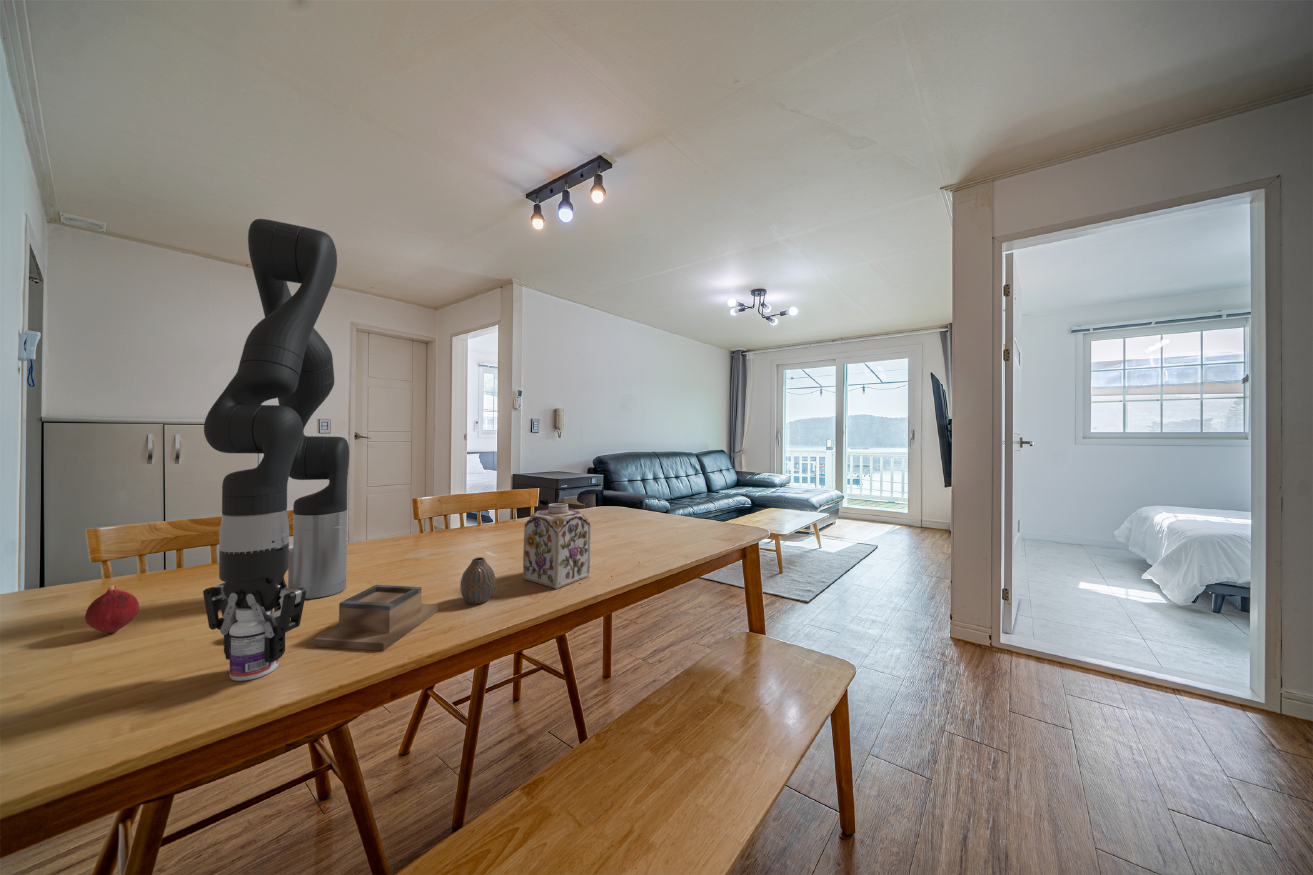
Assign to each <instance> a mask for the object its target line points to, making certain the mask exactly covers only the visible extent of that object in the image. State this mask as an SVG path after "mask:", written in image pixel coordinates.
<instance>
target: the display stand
mask: <svg viewBox="0 0 1313 875" xmlns="http://www.w3.org/2000/svg"><path fill="white" fill-rule="evenodd" d="M338 605H339V606H338V618H339V619H338V625H336V626H334V627H332V628H331V629H328V630H326V631H325V632H323V633H322V634H320V635H318V636H316V637H315V638H313V647H324V648H335V649H336V648H339V649H349V650H351V649H352V650H366V651H367V650H369V651H380V652H382V651H386V650H387V649H389V647H391V646H392V645H393V644H395V643H396V642H398V641H399V640H400V639H403V637H405V636H406V635H408V634H409V633H410V632H411V631H413V630H414V629H416V628H417V627H419V626H420V625H421V624H423V623H424V622H425V621H427V620H429V619H430V618H431V617H433V616H434V615H435V614H437V613H438V612H439V611H440V604H434V603H422V586H408V585H407V586H406V585H391V584H389V585H387V584H374V585H373V586H371V587H369V588H367V589H366V588H365V589H364V590H363V591H360V592H359V593H356V594H355V595H353V596H351V597H348V598H346V599H345V600H342V601H341V602H339V603H338Z"/></svg>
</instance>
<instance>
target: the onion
mask: <svg viewBox="0 0 1313 875" xmlns="http://www.w3.org/2000/svg"><path fill="white" fill-rule="evenodd" d="M139 610H140V603H139V600H138V599H137V597H136V596H134V595H133V594H132V593H131V592H128V591H125V590H121V589H119V588H118V585H110V586H108V588H107V591H106V592H105V593H102V595H100V596H98V597H97V598H95V599H94V600H93V601H92V602H91V603H90V604H89V605H88V607H87V610H86V611H85V616H84V620H85V622H86V624H87V625H88V626H89V627H90V628H92V629H94V630H95V631H98V632H101V633H102V632H103V633H106V634H109V633H111V634H114V633H116V632H119V631H120V629H122V628H125V627H126V626H127V625H128V624H129V623H130V622H132V621H133V620H134V619H135V617H136V616H137V615H138V612H139Z"/></svg>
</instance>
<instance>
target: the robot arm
mask: <svg viewBox="0 0 1313 875" xmlns="http://www.w3.org/2000/svg"><path fill="white" fill-rule="evenodd" d="M247 242H248V243H247V245H248V254H249V258H250V264H251V266H252V272H253V275H254V279H255V282H256V286H257V289H258V294H259V295H258V296H259V298H260V302H261V306H262V310H263V315H264V318H263V319H261V320H260V321H259V322H258V323H257V324H256V325H255V326H254V327H253V328H252V329H251V331H249V332H250V333H249V334H248V335H247V338H246V340H245V342H244V345H243V350H242V353H241V357H240V360H239V363H238V368H237V371H236V372H235V375H234V376H233V378H232V379H231V380H230V381H229V383H228V384H227V386H226V387H225V388H224V390H223V392H222V393H221V394H220V395H219V397H218V398H217V399H216V401H215V402H214V403H213V404H212V406H211V407H210V409H209V411H208V412H207V415H206V417H205V419H204V424H203V434H204V437H205V440H206V442H207V443H208V445H209V446H210V447H211V448H212V449H214V450H215V451H218V452H220V453H224V454H261V455H263V456H262V458H261V461H260V462H259V464H258V465H257V466H256V467H253V468H249V469H243V470H237V471H234V472H230V473H228V474H227V475H225V476H224V478H223V481H222V486H221V488H222V489H221V500H222V501H221V514H222V515H221V521H220V526H219V532H218V533H219V540H218V541H219V544H218V546H219V547H218V548H219V556H218V558H219V559H218V567H219V568H218V569H219V570H218V577H219V578H218V579H219V580H220V581H222V582H223V583H220V584H216V585H213V586H211V587H208V588H205V589H204V590H203V591H202V595H203V599H204V606H205V611H206V618H207V624H208V628H209V629H210V630H212V631H213V630H216V629H217V630H219V631H220V634H221V635H223V653H224V656H225V657H224V658H225V660H228V661H230V647H229V630H230V628H231V626H232V625H233V624H234V623H236V622H237V621H238V620H236V609H238V608H243V609H252V610H253V613H254V615H255V618H256V621H257V623H258V624H262V626H263V629H264V631H265V634H266V636H267V637H266V638H265V662H267V663H272V662H274V661H276V660H277V659H279V660H280V659H281V658H282V657H283V656H284V655H285V652H286V634H287V633H288V632H289V631H292V630H294V629H297V628H298V627H299V626H300V625H301V621H302V615H303V609H304V606H305V600H306V599H307V600H309V599H318V598H323V597H329V596H332V595H336V594H338V593H341V592H342V591H344V590H345V589H346V588H347V569H348V567H347V564H348V562H347V558H348V556H347V555H348V554H347V553H348V550H347V549H348V548H347V547H348V478H349V477H348V476H349V465H350V446H349V443H348V440H347V439H346V437H342V436H327V435H326V436H325V435H324V436H323V435H321V436H319V435H318V436H315V435H314V436H313V435H311V436H309V435H305V433H304V430H305V427H306V426H307V424H308V422H309V420H310V419H311V417H312V416H313V414H314V413H315V412H316V411H317V410H318V409H319V407H320V406H321V405H322V404H323V403H324V401H326V399H327V398H328V397H329V395H330V394H331V392H332V390H333V388H334V386H335V371H334V369H335V368H334V358H333V353H332V351H331V349H330V346H329V345H328V344H327V342H326V341H325V339H324V338H323V337H322V336H321V334H320V333H319V332H318V330H316V329H315V328H314V327H315V325H316V323H317V321H318V319H319V316H320V314H321V313H322V310H323V308H324V305H325V303H326V301H327V298H328V295H329V294H330V290H331V288H332V285H333V283H334V281H335V277H336V275H337V274H336V273H337V268H338V254H337V247H336V244H335V242H334V240H333V238H332V237H331V235H329V234H328V233H327V232H325V231H323V230H319V229H316V228H315V229H314V228H311V227H307V226H301V225H298V224H297V225H296V224H291V223H287V222H281V221H277V220H272V219H268V218H267V219H265V218H256V219H254V220H253V221H251V223H250V225H249V228H248V234H247ZM288 283H294V284H295V283H296V284H300V285H299V287H298V289H297V290H296V292H294V294H293V295H292V293H291V291H290V289H289V286H288ZM273 399H274V400H275V399H277V401H278V405H276V404H275V405H274V404H263V403H265V402H268V401H270V400H273ZM289 478H291V479H292V480H295V481H296V480H297V481H298V480H299V481H313V480H315V481H318V480H328V485H327V486H325V487H324V488H322V489H320V490H318V491H317V492H314V493H312V494H311V493H310V494H308V495H305V496H301V497H299V498H297V499H295V500H294V502H293V508H292V509H293V510H292V512H293V514H292V517H293V519H292V521H293V522H292V523H293V525H292V529H293V530H292V532H293V533H292V534H293V536H292V538H293V539H292V541H293V542H292V547H291V548H290V523H289V522H290V521H289V516H288V483H289ZM287 571H288V572H287ZM286 573H287V574H288V575H287V578H288V580H287V583H286V580H285V575H286ZM272 609H273V612H272V613H271V614H269V615H268V614H266V612H268V611H270V610H272ZM219 611H220V612H221V616H222V617H219ZM273 618H274V619H275V621H276V624H277V626H274V624H273V621H272V620H273Z"/></svg>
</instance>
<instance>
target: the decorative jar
mask: <svg viewBox="0 0 1313 875" xmlns="http://www.w3.org/2000/svg"><path fill="white" fill-rule="evenodd" d="M547 508H548V509H542V510H538V511H535V512H534V514H532V515H531V516H530V517H529V518H528V520H527V521H526V522H525V523H524V524H523V525H524V531H523V552H522V554H523V557H522V558H523V560H522V573H523V574H522V578H523V579H524V580H526V581H529V582H533V583H537V584H539V585H542V586H546V587H548V588H552V589H555V590H558V589H560V588H563V587H566V586H568V585H570V584H573V583H577V582H579V581H582V580H584V579H586V578H588V577H589V576H590V574H591V538H592V537H591V536H592V535H591V534H592V531H591V525H592V523H591V522H590V521H589V519H588V518H587V516H586V515H584V513H583V512H582V511H580V510H575V509H569V504H568V503H564V502H559V503H558V502H556V503H550V504H548V506H547Z"/></svg>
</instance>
